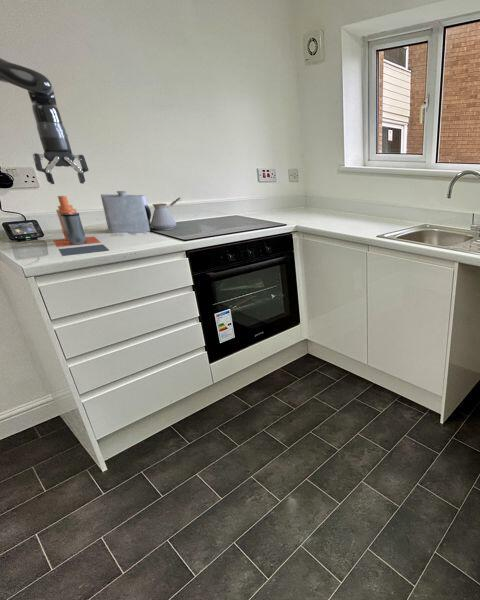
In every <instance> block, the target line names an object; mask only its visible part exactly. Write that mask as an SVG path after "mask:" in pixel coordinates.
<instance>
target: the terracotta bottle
mask: <svg viewBox="0 0 480 600" xmlns="http://www.w3.org/2000/svg"><path fill="white" fill-rule="evenodd" d="M57 199H58V203H59V205H57V208H58V209H57V208H56V209H55V212H56V215H57V217H58V220H59V225H60V227H61V230H62V233H63V236H64V239H65V240H66V241H69V240H68V237H67V234H66V230H65V227H64V224H63V221H62V218H61V216H60V214H62V213H78V211H77V209H76V208H74V207H73V205H72V204H70V203H69V200H68V196H67V195H57Z"/></svg>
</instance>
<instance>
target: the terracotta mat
mask: <svg viewBox="0 0 480 600" xmlns="http://www.w3.org/2000/svg"><path fill="white" fill-rule="evenodd" d="M85 237H86V240H87V243H85V244H79V245H78V246H83V245H91V244H92V245H93V244H100V243H102V242H101V241H100V240H99V239H98V238H97V237H96V236H85ZM53 244H55V246H56V248H64V247H73V246H75V245H71V244H70V243H69V241H66V240H65V238H63V239H61V238H60V239H53Z"/></svg>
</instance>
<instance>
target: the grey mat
mask: <svg viewBox="0 0 480 600" xmlns="http://www.w3.org/2000/svg"><path fill="white" fill-rule="evenodd" d="M58 251H59V253H60V254H61V256H62V257H66V256H67V257H68V256H74V255H83V254H84V255H85V254H91V253H99V252H100V253H101V252H108V251H110V249H109V248H108V247H107V246H105V244H94V245H93V244H92V245H84V246H83V245H82V246H75V247H73V246H72V247H65V248H64V247H63V248H58Z"/></svg>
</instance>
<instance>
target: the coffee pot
mask: <svg viewBox="0 0 480 600" xmlns="http://www.w3.org/2000/svg"><path fill="white" fill-rule="evenodd" d="M180 199H181V197H178V198H176V199H175V200H173V201H172V202H171V203H170V204H169V205H168V204H167V203H152V206H153V208H154V210H153V214H152V216H151V220H150V223H151V228H154V229H156V230H157V231H169V230H174V228H175V227H176V226H177V221H176V220H175V219H174V217H173V215H172V214H171V213H170V211H169V208H170V207H172V206H174V205H175V204H176V203H177V202H179V201H180Z"/></svg>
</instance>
